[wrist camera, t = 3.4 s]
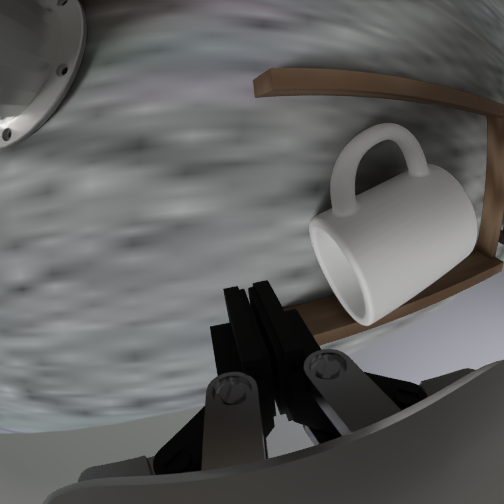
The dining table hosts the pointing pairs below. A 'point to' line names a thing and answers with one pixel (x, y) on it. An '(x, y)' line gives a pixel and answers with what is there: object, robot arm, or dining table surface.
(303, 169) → the dining table surface
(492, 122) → the frame
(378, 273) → the mug
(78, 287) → the dining table surface
